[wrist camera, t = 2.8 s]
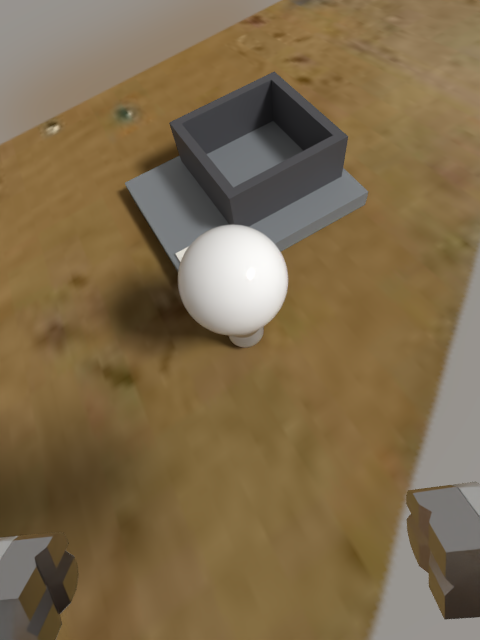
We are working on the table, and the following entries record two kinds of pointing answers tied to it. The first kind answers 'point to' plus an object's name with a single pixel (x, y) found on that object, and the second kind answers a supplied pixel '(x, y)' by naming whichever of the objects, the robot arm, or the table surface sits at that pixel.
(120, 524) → the table surface
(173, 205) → the socket board
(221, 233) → the lightbulb
